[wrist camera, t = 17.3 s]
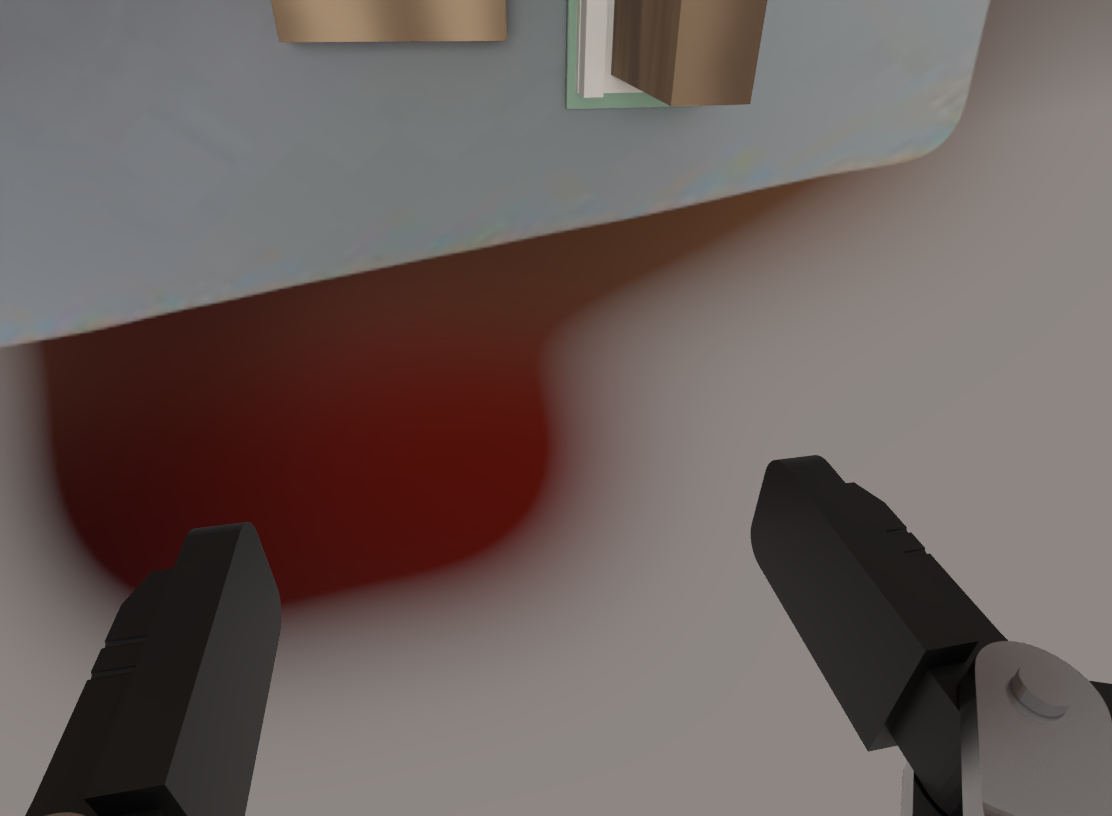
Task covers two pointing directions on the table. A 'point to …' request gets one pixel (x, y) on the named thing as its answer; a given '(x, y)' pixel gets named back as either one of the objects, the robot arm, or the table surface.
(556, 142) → the table surface
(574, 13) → the mat
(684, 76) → the tall wooden pillar
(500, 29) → the flat wooden block
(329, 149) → the table surface
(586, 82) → the rack
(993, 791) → the robot arm
